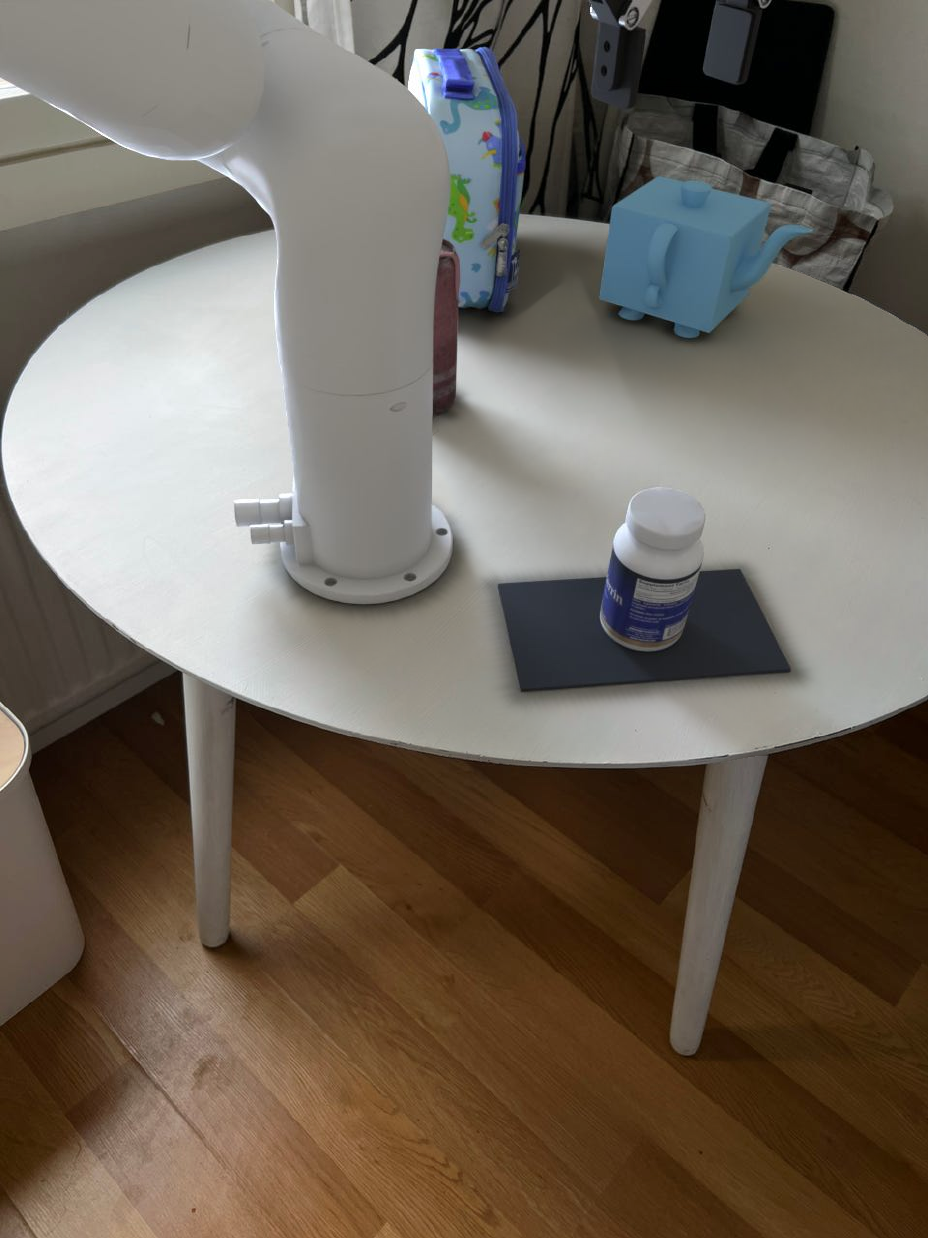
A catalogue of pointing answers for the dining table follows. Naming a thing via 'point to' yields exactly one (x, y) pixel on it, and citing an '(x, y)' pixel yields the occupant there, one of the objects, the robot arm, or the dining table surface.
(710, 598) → the mat
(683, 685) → the dining table surface
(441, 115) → the lunch box
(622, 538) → the pill bottle
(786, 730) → the dining table surface
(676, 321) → the teapot
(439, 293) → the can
